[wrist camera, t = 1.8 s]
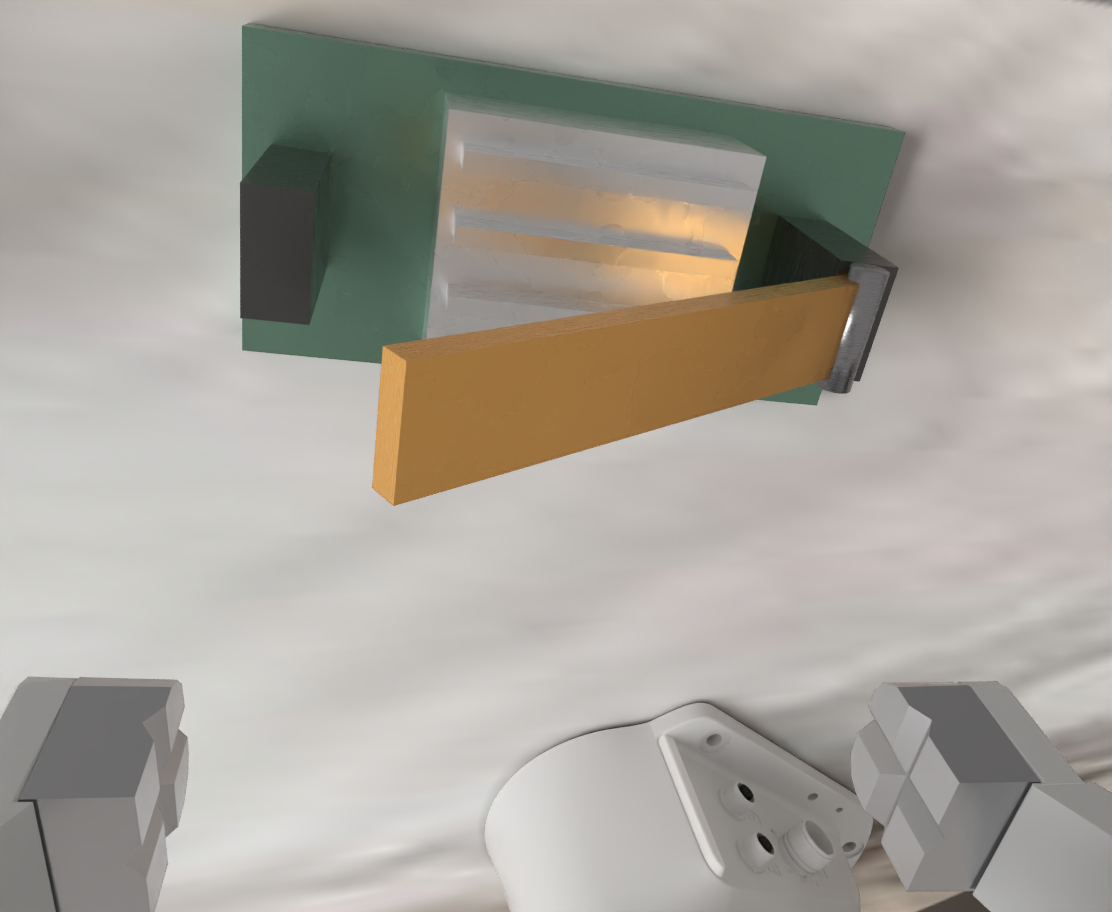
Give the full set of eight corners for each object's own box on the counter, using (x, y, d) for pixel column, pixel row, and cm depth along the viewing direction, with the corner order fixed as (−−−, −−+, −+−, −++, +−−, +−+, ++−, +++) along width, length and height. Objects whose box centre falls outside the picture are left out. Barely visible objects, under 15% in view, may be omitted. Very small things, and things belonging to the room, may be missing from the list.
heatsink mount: (890, 126, 34) (992, 164, 28) (806, 393, 39) (877, 474, 33) (248, 23, 29) (203, 40, 23) (247, 338, 35) (210, 419, 28)
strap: (860, 260, 29) (897, 273, 28) (823, 374, 31) (856, 389, 30) (384, 326, 17) (423, 351, 16) (371, 504, 19) (406, 534, 18)
